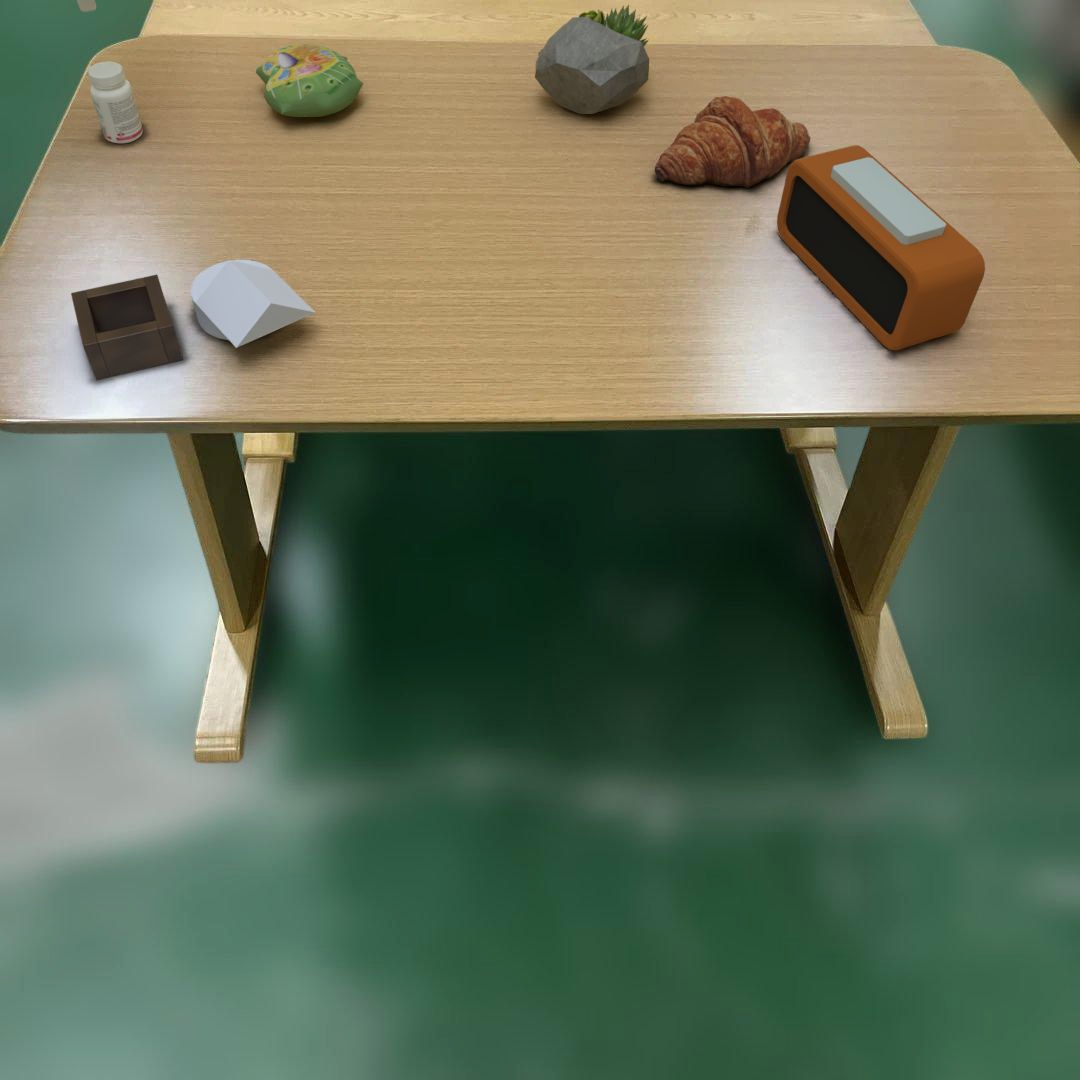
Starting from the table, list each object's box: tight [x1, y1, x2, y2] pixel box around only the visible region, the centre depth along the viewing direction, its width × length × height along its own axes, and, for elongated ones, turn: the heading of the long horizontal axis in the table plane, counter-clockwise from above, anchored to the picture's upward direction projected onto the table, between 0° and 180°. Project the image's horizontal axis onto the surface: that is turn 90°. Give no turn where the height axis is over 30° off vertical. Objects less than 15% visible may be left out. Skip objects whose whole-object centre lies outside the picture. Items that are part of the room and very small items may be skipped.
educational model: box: [255, 43, 364, 118], centre depth 142 cm, size 13×16×5 cm
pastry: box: [654, 95, 811, 189], centre depth 134 cm, size 17×15×8 cm
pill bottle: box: [87, 60, 144, 144], centre depth 135 cm, size 5×5×8 cm
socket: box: [70, 274, 184, 381], centre depth 112 cm, size 9×9×4 cm
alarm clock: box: [776, 144, 986, 351], centre depth 119 cm, size 24×8×11 cm, turn 24°
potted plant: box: [534, 4, 650, 115], centre depth 142 cm, size 12×13×15 cm
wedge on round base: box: [190, 259, 316, 349], centre depth 114 cm, size 9×7×13 cm
